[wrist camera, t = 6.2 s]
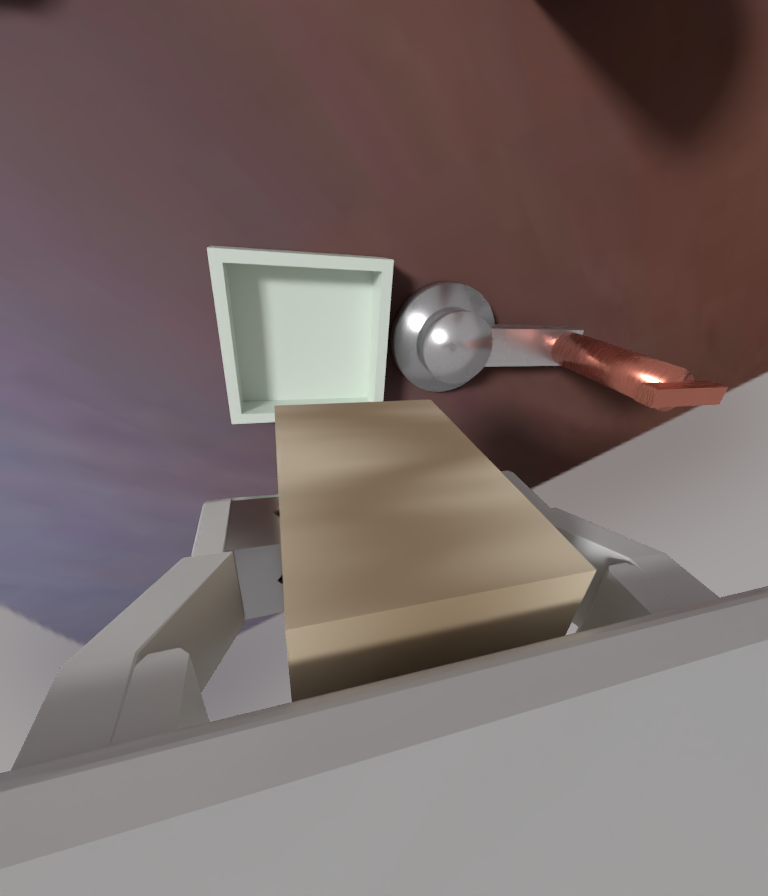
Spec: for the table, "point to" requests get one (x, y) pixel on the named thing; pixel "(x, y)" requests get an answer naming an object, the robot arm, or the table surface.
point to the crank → (554, 358)
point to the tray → (300, 327)
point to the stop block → (407, 547)
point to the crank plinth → (414, 317)
